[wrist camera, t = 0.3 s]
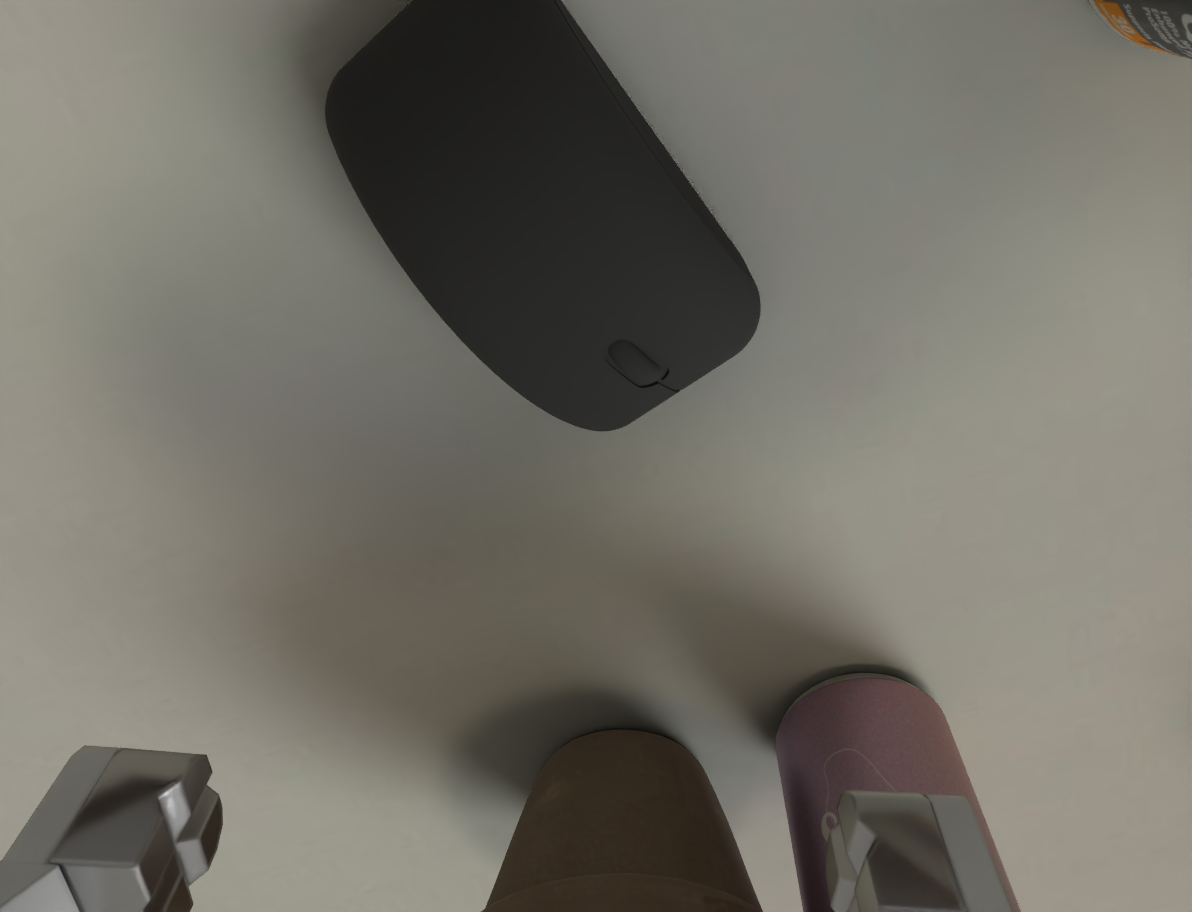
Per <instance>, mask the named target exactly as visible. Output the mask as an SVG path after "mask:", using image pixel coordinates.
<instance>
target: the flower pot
mask: <svg viewBox="0 0 1192 912" xmlns="http://www.w3.org/2000/svg"><path fill="white" fill-rule="evenodd" d="M481 912H763V911H762V908H761V906H760V904H759V901H758V899H757V896H756V894H755V891H754V889H753V886H752V884H751V881H750V878H749V876H748V873H747V870H746V868H745V865H744V862H743V860H742V857H741V854H740V851H739V849H738V846H737V843H736V841H735V838H734V836H733V833H732V831H731V829H730V826H729V824H728V821H727V819H726V816H725V814H724V812H723V810H722V807H721V805H720V803H719V800H718V798H717V796H716V794H715V792H714V789H713V787H712V785H711V783H710V781H709V779H708V777H707V774H706V773H705V771H704V769H703V767H702V766H701V764H700V763H699V761H698V760H697V759H696V758H695V757H694V756H693V755H692V754H691V753H690V752H689V751H688V750H686V749H685V748H684V747H682V746H680V745H679V744H677V743H675V742H673V741H671V740H669V739H667V738H665V737H663V736H660V735H656V734H653V733H649V732H644V731H638V730H606V731H600V732H595V733H591V734H588V735H585V736H582V737H579V738H577V739H574V740H572V741H570V742H568V743H567V744H565V745H563V746H562V747H561V748H559V749H558V750H557V751H556V752H555V753H554V754H553V755H552V756H551V757H550V758H549V759H548V760H547V761H546V763H545V765H544V766H543V768H542V770H541V772H540V774H539V776H538V778H537V780H536V782H535V784H534V786H533V789H532V791H531V793H530V795H529V798H528V800H527V802H526V804H525V807H524V809H523V812H522V814H521V817H520V819H519V822H518V824H517V827H516V829H515V832H514V834H513V837H512V840H511V842H510V845H509V848H508V850H507V853H506V856H505V858H504V861H503V864H502V866H501V869H500V872H499V874H498V877H497V880H496V882H495V885H494V888H493V890H492V893H491V895H490V898H489V900H488V903H487V905H486V908H485V909H484V910H483V911H481Z"/></svg>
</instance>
